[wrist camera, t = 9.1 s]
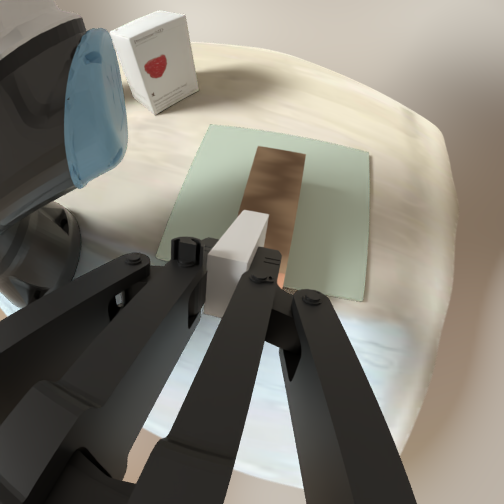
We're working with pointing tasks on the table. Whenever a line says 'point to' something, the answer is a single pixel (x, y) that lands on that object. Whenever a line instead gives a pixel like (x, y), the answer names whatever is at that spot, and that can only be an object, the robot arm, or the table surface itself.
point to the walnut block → (275, 197)
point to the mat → (308, 212)
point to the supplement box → (157, 59)
